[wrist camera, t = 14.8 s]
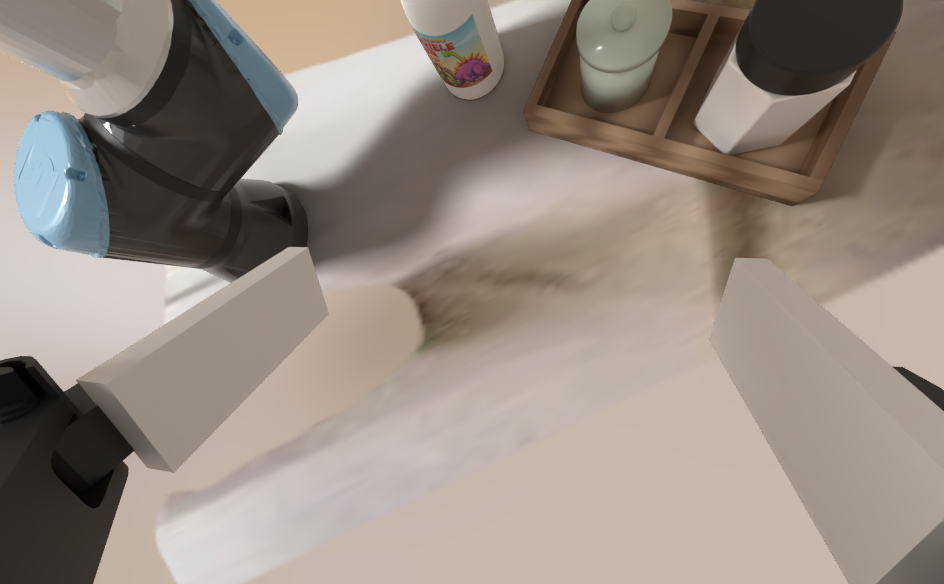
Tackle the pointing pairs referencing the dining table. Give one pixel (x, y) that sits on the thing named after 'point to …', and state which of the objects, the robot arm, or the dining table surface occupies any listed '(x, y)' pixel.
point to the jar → (789, 67)
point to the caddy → (691, 110)
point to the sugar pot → (619, 50)
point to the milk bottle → (459, 43)
